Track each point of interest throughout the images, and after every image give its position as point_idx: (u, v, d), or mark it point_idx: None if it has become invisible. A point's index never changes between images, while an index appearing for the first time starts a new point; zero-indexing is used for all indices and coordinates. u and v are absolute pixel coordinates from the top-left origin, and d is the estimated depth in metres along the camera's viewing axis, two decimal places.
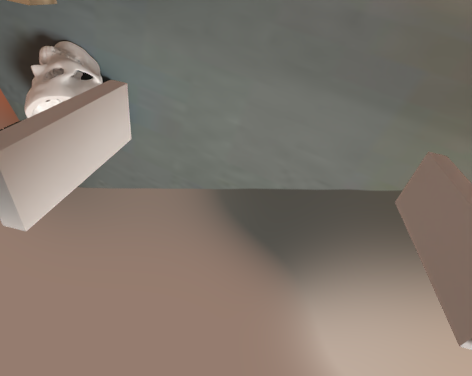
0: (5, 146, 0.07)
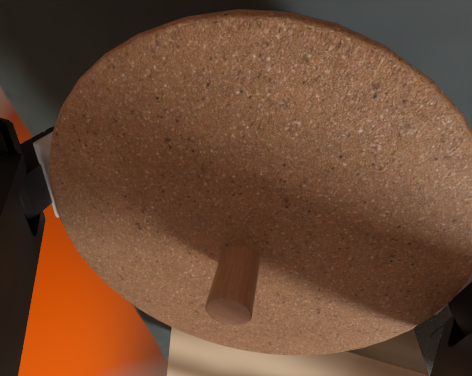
0: None
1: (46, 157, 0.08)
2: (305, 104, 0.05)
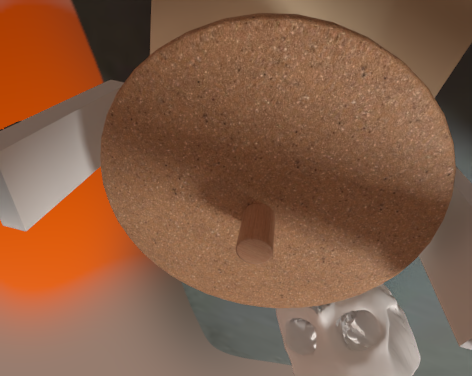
0: (5, 146, 0.07)
1: None
2: (312, 83, 0.06)
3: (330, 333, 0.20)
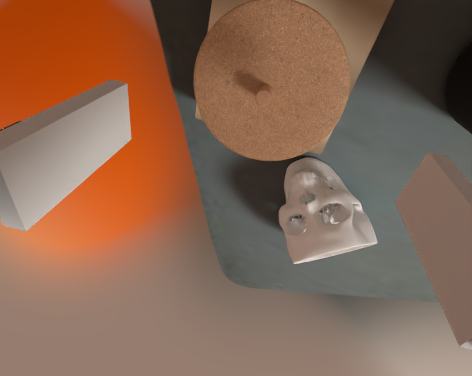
0: (5, 146, 0.07)
1: None
2: (284, 22, 0.17)
3: (315, 217, 0.30)
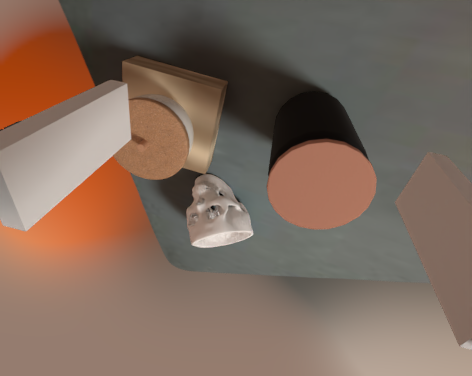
0: (5, 146, 0.07)
1: None
2: (142, 109, 0.32)
3: (202, 214, 0.46)
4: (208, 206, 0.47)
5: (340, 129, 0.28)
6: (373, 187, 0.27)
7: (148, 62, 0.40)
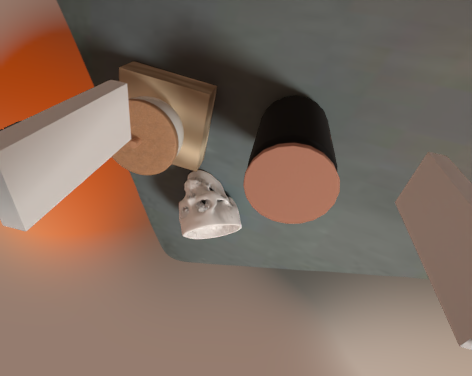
0: (5, 146, 0.07)
1: None
2: None
3: (192, 208, 0.49)
4: (198, 200, 0.50)
5: (310, 133, 0.31)
6: (337, 186, 0.30)
7: (143, 68, 0.43)
